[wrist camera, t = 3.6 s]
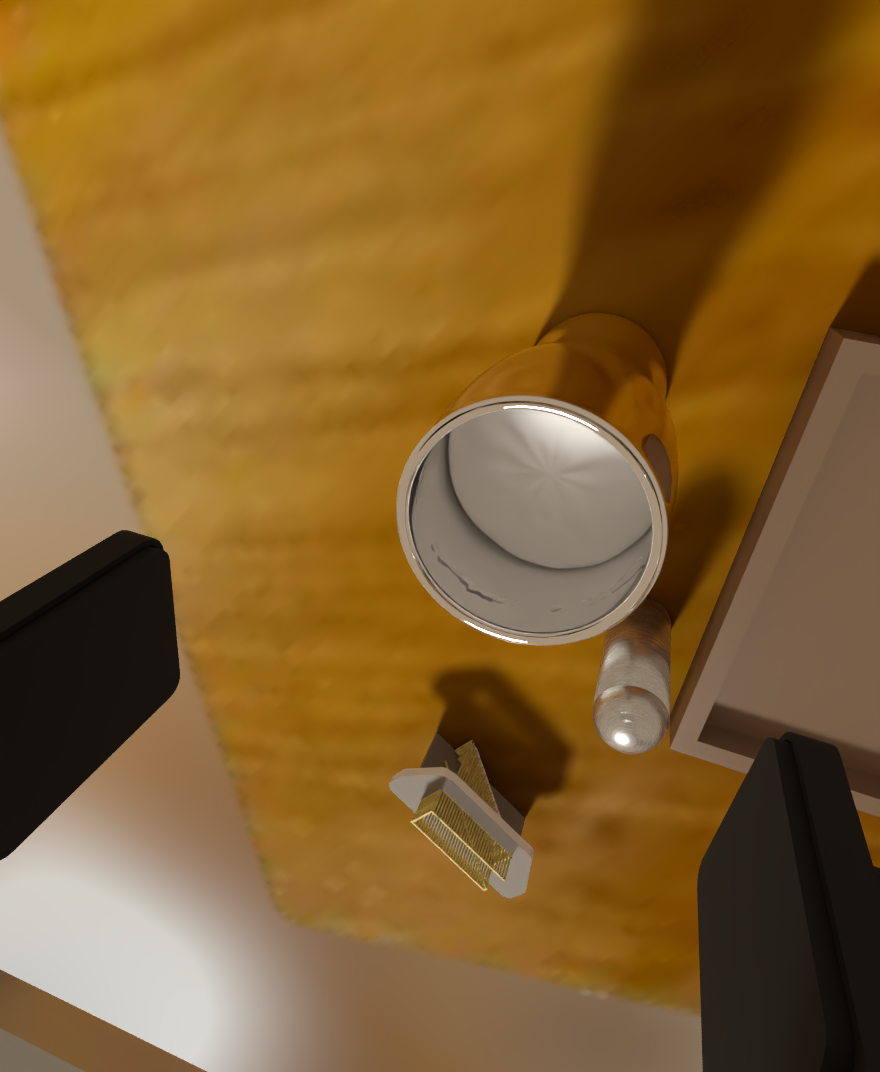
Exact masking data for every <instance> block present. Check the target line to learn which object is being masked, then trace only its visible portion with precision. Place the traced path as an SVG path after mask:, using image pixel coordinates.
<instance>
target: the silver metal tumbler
mask: <svg viewBox="0 0 880 1072" xmlns="http://www.w3.org/2000/svg"><path fill="white" fill-rule="evenodd" d="M666 393H667V371H666V366H665V362H664V359H663V356H662V354H661V351H660V349H659V348H658V346H657V344H656V343H655V341H654V340H653V339H652V338H651V336H650V335H649V334H648V333H647V332H646V331H645V330H643V329H642V328H641V327H640V326H638V325H637V324H635V323H634V322H632V321H630V320H628V319H626V318H623V317H620V316H617V315H613V314H607V313H588V314H582V315H578V316H574V317H572V318H569V319H567V320H565V321H563V322H561V323H559V324H557V325H556V326H554V327H553V328H552V329H550V330H549V331H548V332H547V333H546V334H545V335H544V336H543V337H542V338H541V339H540V340H539V342H538V343H537V344H536V346H533V347H530V348H526V349H523V350H521V351H518V352H516V353H514V354H512V355H510V356H508V357H506V358H504V359H502V360H501V361H499V362H498V363H496V364H495V365H493V366H492V367H490V368H489V369H488V370H486V371H485V372H483V373H482V374H481V375H479V376H478V377H477V378H476V379H474V380H473V381H472V382H471V383H470V384H469V385H468V386H467V387H466V388H465V389H464V390H463V391H462V392H461V393H460V394H459V395H458V396H457V397H456V398H455V399H454V401H453V402H452V403H451V404H450V405H449V406H448V408H447V409H446V410H445V411H444V413H443V414H442V415H441V416H440V418H439V419H438V420H437V422H436V423H435V425H434V426H433V427H432V428H431V429H430V430H429V431H428V432H427V433H426V434H425V435H424V436H423V437H422V438H421V440H420V441H419V442H418V444H417V445H416V446H415V448H414V449H413V451H412V453H411V454H410V456H409V458H408V460H407V462H406V464H405V467H404V469H403V472H402V475H401V478H400V482H399V486H398V491H397V499H396V519H397V528H398V533H399V538H400V541H401V545H402V548H403V551H404V553H405V556H406V558H407V560H408V562H409V564H410V566H411V568H412V570H413V572H414V574H415V575H416V577H417V578H418V580H419V581H420V583H421V584H422V585H423V587H424V588H425V589H426V590H427V592H428V593H429V594H430V595H431V596H432V597H433V598H434V599H435V600H436V601H437V602H438V603H439V604H440V605H441V606H442V607H443V608H444V609H445V610H447V611H448V612H449V613H450V614H452V615H453V616H454V617H456V618H457V619H459V620H460V621H462V622H463V623H465V624H467V625H469V626H470V627H472V628H474V629H476V630H478V631H480V632H483V633H485V634H487V635H490V636H493V637H496V638H499V639H502V640H506V641H510V642H514V643H520V644H527V645H561V644H568V643H573V642H577V641H581V640H585V639H588V638H591V637H593V636H596V635H598V634H601V633H603V632H605V631H607V630H609V629H610V628H612V627H614V626H615V625H617V624H618V623H620V622H621V621H623V620H624V619H625V618H627V617H628V616H629V615H630V614H631V613H632V612H633V611H634V610H636V609H637V607H638V606H639V605H640V604H641V603H642V602H643V601H644V599H645V598H646V597H647V595H648V594H649V592H650V591H651V589H652V588H653V586H654V584H655V583H656V581H657V579H658V576H659V574H660V572H661V569H662V566H663V563H664V560H665V556H666V551H667V544H668V534H669V530H670V526H671V522H672V518H673V513H674V508H675V503H676V496H677V486H678V475H679V461H678V451H677V440H676V434H675V429H674V425H673V422H672V419H671V416H670V414H669V411H668V409H667V407H666V405H665V403H664V402H665V399H666Z"/></svg>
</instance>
